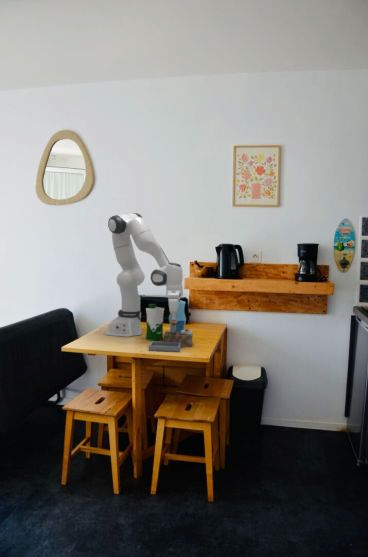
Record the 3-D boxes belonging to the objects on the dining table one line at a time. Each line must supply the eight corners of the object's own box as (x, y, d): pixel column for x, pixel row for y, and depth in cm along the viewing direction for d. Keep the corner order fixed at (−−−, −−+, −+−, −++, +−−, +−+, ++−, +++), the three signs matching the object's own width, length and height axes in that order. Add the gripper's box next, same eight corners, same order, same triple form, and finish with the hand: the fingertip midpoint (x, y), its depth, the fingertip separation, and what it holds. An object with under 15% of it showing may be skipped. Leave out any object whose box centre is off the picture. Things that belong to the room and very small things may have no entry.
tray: (148, 350, 212) (148, 346, 212) (151, 345, 222) (151, 341, 222) (179, 352, 211) (179, 347, 211) (180, 346, 221) (180, 342, 221)
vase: (179, 332, 255) (180, 300, 253) (185, 335, 248) (186, 302, 246) (168, 333, 252) (169, 300, 250) (173, 336, 245) (174, 302, 243)
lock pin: (169, 343, 225) (170, 321, 223) (170, 341, 228) (170, 319, 227) (176, 343, 224) (176, 321, 223) (176, 341, 228) (177, 320, 227)
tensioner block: (163, 346, 222) (163, 330, 221) (164, 341, 231) (165, 326, 230) (191, 347, 221) (192, 331, 221) (192, 342, 230) (192, 327, 229)
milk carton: (152, 336, 243) (153, 302, 241) (165, 338, 238) (166, 304, 236) (143, 339, 236) (144, 304, 234) (156, 341, 231) (157, 306, 229)
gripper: (170, 290, 234) (170, 314, 235) (166, 295, 213) (166, 321, 215) (181, 290, 233) (181, 314, 235) (179, 295, 213) (179, 321, 214)
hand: (174, 317), depth 225 cm, fingers open, 8 cm apart
